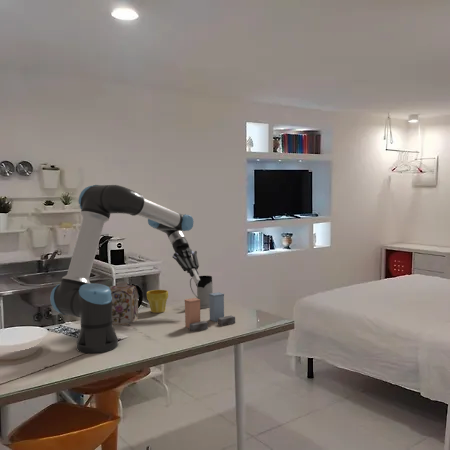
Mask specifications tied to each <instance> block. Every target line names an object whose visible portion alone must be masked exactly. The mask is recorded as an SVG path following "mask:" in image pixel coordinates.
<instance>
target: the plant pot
mask: <svg viewBox="0 0 450 450" xmlns="http://www.w3.org/2000/svg"><path fill="white" fill-rule="evenodd" d="M168 299H169V290H166V289H152V290H148V291H146V300H147V301H148V304H149V308H150V311H151V313H153V314H161V313H164V312H165V311H166V306H167V300H168Z"/></svg>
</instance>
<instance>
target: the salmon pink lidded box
mask: <svg viewBox="0 0 450 450" xmlns="http://www.w3.org/2000/svg"><path fill="white" fill-rule="evenodd" d="M184 311H185V312H184V318H185V319H184V321H185V324H184V325H185V328H187V329H188V330H190V326H189V324H191V323H196V322H201V308H200V299H197V298H196V297H191V298H186V299H184Z"/></svg>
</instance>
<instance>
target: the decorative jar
mask: <svg viewBox="0 0 450 450" xmlns="http://www.w3.org/2000/svg"><path fill="white" fill-rule="evenodd" d="M109 288H110V290H111V296H112V325H113V326H131V324H129V323H134V322H137V320H138V319H139V300H138V299H139V298H138V297H139V296H138V289H137V287H136V286H134V285H131V284H128V281H118V282H116V284H115V285H112V286H110V287H109Z"/></svg>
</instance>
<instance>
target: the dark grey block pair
mask: <svg viewBox="0 0 450 450" xmlns="http://www.w3.org/2000/svg"><path fill="white" fill-rule="evenodd" d="M208 324H209V323H208V322H207V321H205V320H200V322H196V323H191V324H189V326H190V329H189V331H190V332H194V333H195V332H199V331H204V330H208V329H209V327H208V326H209V325H208ZM232 324H236V316H234V315H227V316H226V315H225V316H224V317H221V318H218V321H217V325H219V326H222V327H223V326H227V325H232Z"/></svg>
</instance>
